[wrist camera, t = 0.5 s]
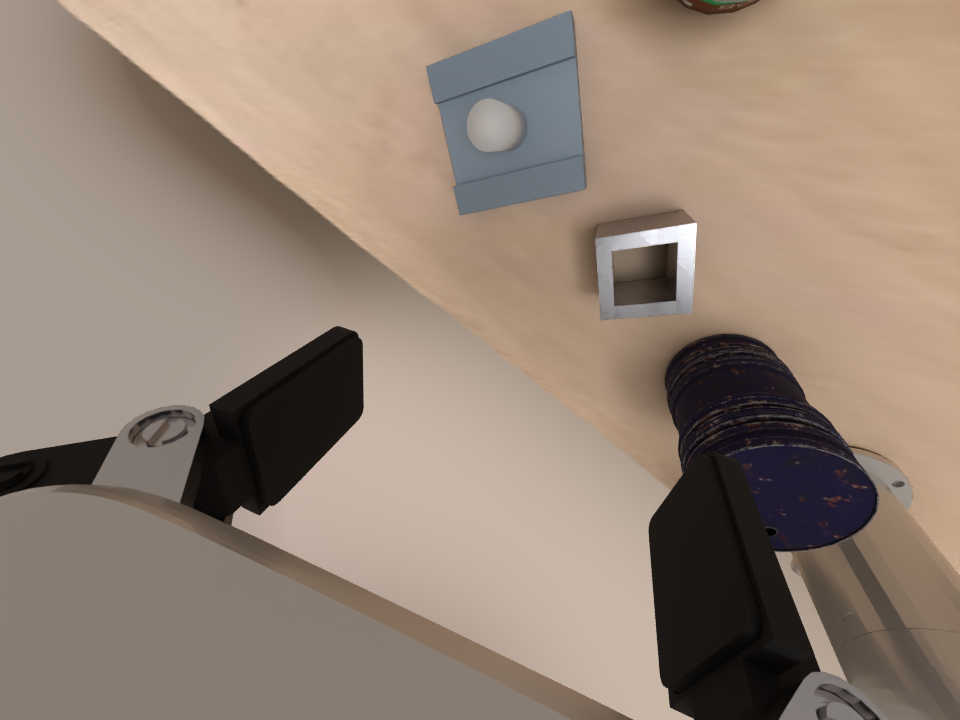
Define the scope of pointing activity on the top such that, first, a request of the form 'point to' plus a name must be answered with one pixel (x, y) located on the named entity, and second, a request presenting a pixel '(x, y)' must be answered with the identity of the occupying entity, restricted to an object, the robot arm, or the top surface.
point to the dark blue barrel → (769, 441)
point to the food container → (717, 5)
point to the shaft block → (513, 116)
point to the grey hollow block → (650, 293)
